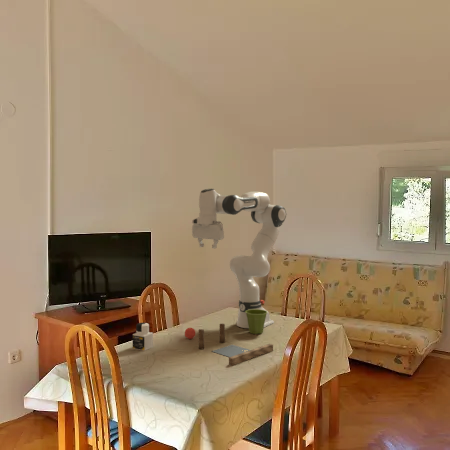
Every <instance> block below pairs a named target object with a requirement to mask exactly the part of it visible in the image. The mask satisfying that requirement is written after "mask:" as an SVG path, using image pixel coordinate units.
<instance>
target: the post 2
mask: <svg viewBox="0 0 450 450" xmlns="http://www.w3.org/2000/svg"><path fill="white" fill-rule="evenodd" d="M225 324H226V323H219V343H220V344H224V343H225V342H226V341H225V340H226V339H225V338H226V337H225V336H226V331H225V330H226V326H225Z"/></svg>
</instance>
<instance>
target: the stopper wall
mask: <svg viewBox="0 0 450 450" xmlns="http://www.w3.org/2000/svg"><path fill="white" fill-rule="evenodd" d="M249 350H250V351H247V352H244V353H241V354H238V355H235V356H232V357H228V365H230V366H235V365H238V364H240V363H243V362H246V361H249V360H251V358H252V359H254V358H257V357H259V355H260V356H262V355H261V354H263V355H265V354H268V353H271V352H273V351H274V344H273V343H268V344H265V345H261V346H259V347H256V348H253V349H249ZM270 351H271V352H270ZM256 356H257V357H256ZM253 357H254V358H253ZM248 359H249V360H248ZM245 360H246V361H245ZM237 363H238V364H237Z"/></svg>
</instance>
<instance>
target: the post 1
mask: <svg viewBox="0 0 450 450" xmlns="http://www.w3.org/2000/svg"><path fill="white" fill-rule="evenodd" d="M204 349H205V329H202V328H201V329H198V350H204Z"/></svg>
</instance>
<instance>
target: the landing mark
mask: <svg viewBox="0 0 450 450" xmlns="http://www.w3.org/2000/svg"><path fill="white" fill-rule="evenodd" d="M242 350H243V351H242ZM244 350H248V351H250V350H251V349H249V348H246V347H241V346H238V345H235V344H230V345H227V346H224V347H221V348H218V349H217V348H216V349H214V350H211V352H212V353H215V354H218V355H221V356H224V357H228V358H229V357H232V356H235V355H238V354H241V353H244ZM246 352H247V351H246Z"/></svg>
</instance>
